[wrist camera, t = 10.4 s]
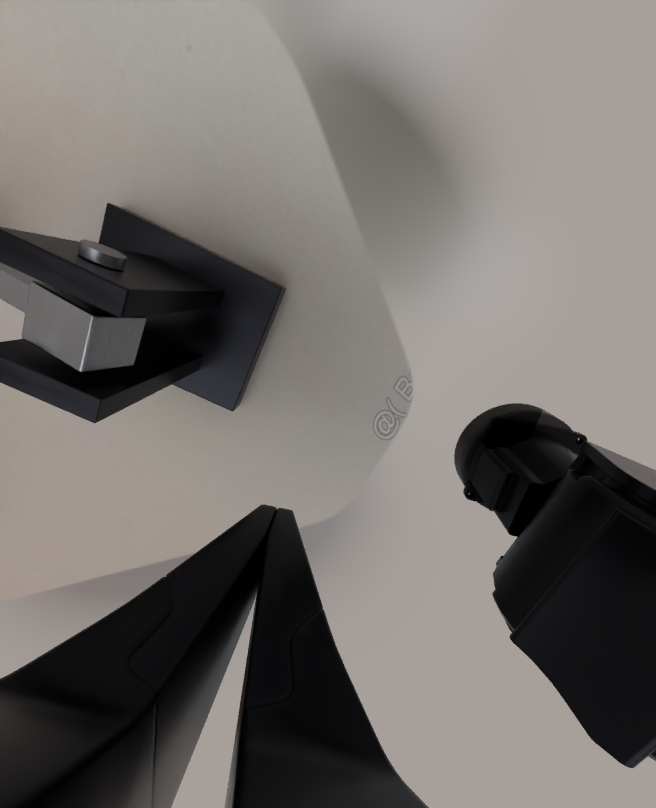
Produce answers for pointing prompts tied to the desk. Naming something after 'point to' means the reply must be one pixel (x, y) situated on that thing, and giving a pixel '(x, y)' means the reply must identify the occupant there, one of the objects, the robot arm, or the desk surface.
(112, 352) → the lever
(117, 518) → the desk surface
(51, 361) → the switch bracket
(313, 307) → the desk surface
